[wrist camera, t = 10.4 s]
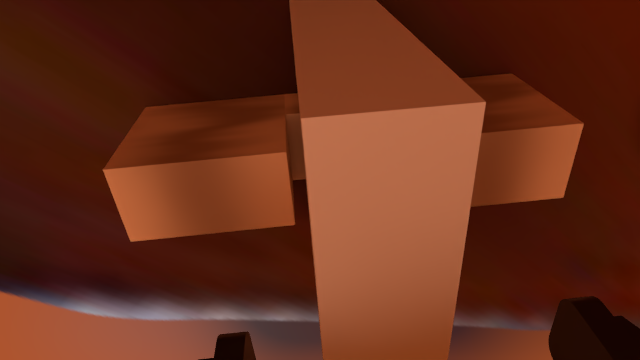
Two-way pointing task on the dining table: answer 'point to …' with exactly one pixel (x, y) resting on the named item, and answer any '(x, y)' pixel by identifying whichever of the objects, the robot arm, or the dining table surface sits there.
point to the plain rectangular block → (383, 179)
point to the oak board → (288, 159)
